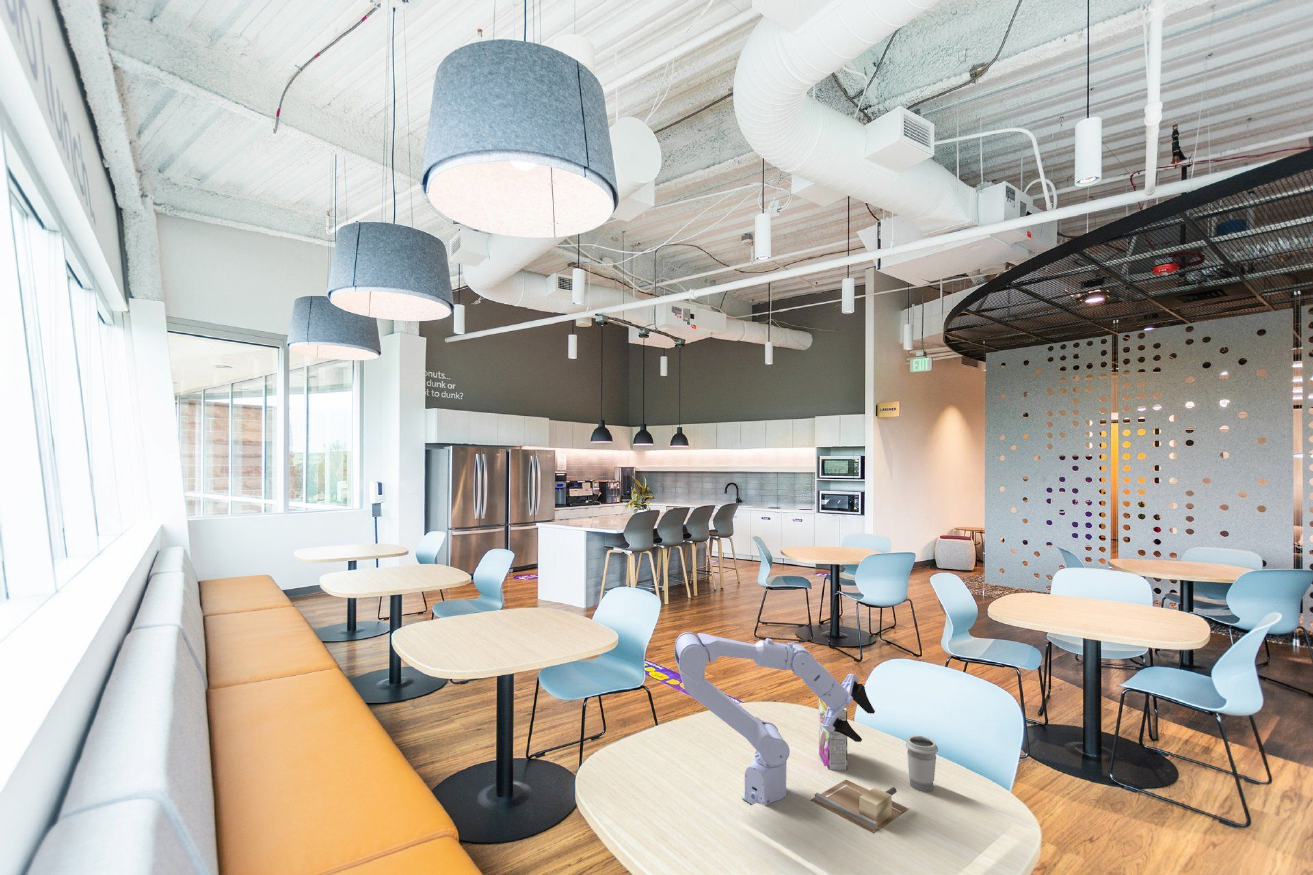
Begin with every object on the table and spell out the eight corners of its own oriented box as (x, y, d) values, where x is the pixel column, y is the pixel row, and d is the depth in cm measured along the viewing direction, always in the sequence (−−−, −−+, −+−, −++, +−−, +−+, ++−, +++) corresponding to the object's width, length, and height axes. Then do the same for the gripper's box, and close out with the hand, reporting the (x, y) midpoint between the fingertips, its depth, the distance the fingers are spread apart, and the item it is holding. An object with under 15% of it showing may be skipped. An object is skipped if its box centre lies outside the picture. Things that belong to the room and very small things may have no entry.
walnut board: (873, 840, 135) (873, 827, 135) (809, 806, 148) (809, 794, 148) (909, 815, 144) (909, 803, 144) (845, 785, 157) (845, 774, 157)
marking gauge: (876, 826, 138) (876, 804, 138) (859, 817, 141) (859, 796, 141) (902, 808, 145) (902, 787, 145) (885, 800, 148) (885, 780, 148)
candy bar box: (817, 754, 172) (817, 691, 172) (836, 754, 172) (837, 691, 172) (827, 776, 161) (828, 709, 161) (848, 776, 161) (848, 709, 161)
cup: (935, 787, 156) (936, 736, 156) (939, 802, 150) (940, 749, 150) (903, 783, 158) (904, 733, 158) (906, 797, 152) (906, 745, 152)
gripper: (822, 712, 145) (864, 754, 146) (849, 660, 153) (889, 699, 154) (803, 712, 151) (843, 752, 152) (830, 661, 159) (868, 700, 160)
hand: (865, 726), depth 153 cm, fingers open, 7 cm apart
